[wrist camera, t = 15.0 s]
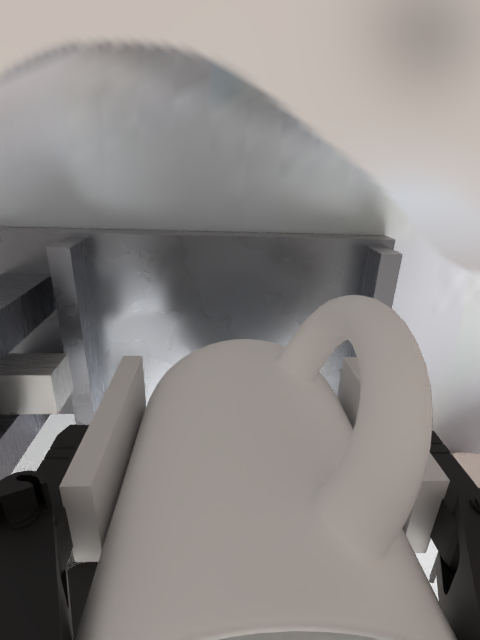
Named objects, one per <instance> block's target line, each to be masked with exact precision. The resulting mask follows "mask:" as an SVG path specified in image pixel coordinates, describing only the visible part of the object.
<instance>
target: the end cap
mask: <svg viewBox="0 0 480 640" xmlns="http://www.w3.org/2000/svg"><path fill="white" fill-rule="evenodd" d="M97 565H98V562H85V563H81V564H78V565H76V566H74V567H72V568H70V569H69V570H67V574H68V583H69V594H70V605H71V616H72V627H73V638H74V640H75V637H76V634H77V631H78V627H79V624H80V621H81V617H82V614H83V611H84V608H85V604H86V601H87V598H88V595H89V591H90V588H91V585H92V581H93V578H94V575H95V572H96V568H97Z"/></svg>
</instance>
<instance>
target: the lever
mask: <svg viewBox="0 0 480 640" xmlns="http://www.w3.org/2000/svg"><path fill="white" fill-rule="evenodd" d="M73 389H74V388H73V382H72V376H71V370H70V364H69V358H68V353H8V354H7V355H6V356H5V357H4V358H3V359H1V360H0V414H58V413H59V411H60V410H61V408H62V407H63V405H64V404H65V402H66V400H67V399H68V397H69V396H70V394H71V393H72V391H73Z"/></svg>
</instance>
